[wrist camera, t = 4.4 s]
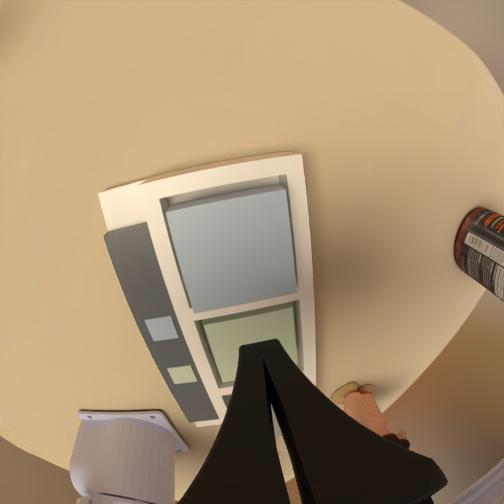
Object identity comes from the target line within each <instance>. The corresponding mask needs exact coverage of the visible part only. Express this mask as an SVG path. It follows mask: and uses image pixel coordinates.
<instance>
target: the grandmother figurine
mask: <svg viewBox="0 0 504 504" xmlns="http://www.w3.org/2000/svg"><path fill="white" fill-rule="evenodd" d="M357 389H358V384H357V383H355V382H352V383H349V384H347V385H345V386H344V387H342V388H341V389H339V390H338V391H336V392H335V393H334V394H333V395H332V397H331V398H332V400H333V401H334V402H336V403H338V404H342V403H345V404H346V405H345V408H344V410H345V412H346V413H347V414H348V415H349V416H351V417H352V418H353V419H355V420H356V421H358V422H359V423H360V424H362V425H364V426H365V427H367V428H369V429H370V430H372V431H373V432H375V433H377V434H379V435H380V436H382V437H384V438H385V439H387V440H389V441H391V442H393V443H395V444H397V445H399V446H401V447H404V448H406V449H408V450H409V446H410V443H409V441H408V440H407V437H406V433H405V431H403V430H401V431H398V432H397V434H394V433H393V432H391V431H390V430H389V428H388V427H387V425H386V421H385V419H384V417H383V416H382V414H381V412H380V410H379V408H378V406H377V404H376V402H375V400H374V398H373V396H372V395H371V394H370V393H371V392H372V385H364V386H363V387H361V388H360V389H359V390H358V391H357ZM356 391H357V392H356Z"/></svg>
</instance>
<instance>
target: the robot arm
mask: <svg viewBox="0 0 504 504" xmlns="http://www.w3.org/2000/svg"><path fill="white" fill-rule="evenodd" d="M271 405H272V408H273V411H274V413H275V416H276V419H277V422H278V425H279V428H280V430H281V433H282V436H283V439H284V441H285V444H286V447H287V450H288V452H289V456H290V459H291V462H292V466H293V470H294V474H295V478H296V482H297V486H298V490H299V494H300V498H301V502H302V504H434V502H433V500H432V498H431V496H432V495H433V494H435V493H436V492H438V491H439V490H440V489H442V488H443V487H444V486H446V484H447V482H448V481H447V479H446V477H445V475H444V473H443V472H442V470H441V469H440V468H439V466H438V465H437V464H436V463H435V462H434V460H433V459H431V458H429V457H426V456H423V455H421V454H418V453H415V452H413V451H411V450H408V449H406V448H404V447H401V446H399V445H397V444H395V443H393V442H391V441H389V440H387V439H385V438H384V437H382V436H380V435H379V434H377V433H375V432H373V431H372V430H370V429H369V428H367V427H365V426H364V425H362V424H360V423H359V422H358V421H356V420H355V419H353V418H352V417H351V416H349V415H348V414H347V413H345V412H344V411H343V410H341V409H340V408H339V407H338V406H336V405H335V404H334V403H333V402H332V401H331V400H330V399H328V398H327V397H326V396H325V395H324V394H323V393H322V392H321V391H320V390H319V389H318V388H317V387H316V386H315V385H314V384H313V383H312V382H311V381H310V380H309V379H308V378H307V377H306V376H305V374H304V373H303V372H302V371H301V370H300V369H299V368H298V366H297V365H296V364H295V363H294V361H293V360H292V359H291V358H290V356H289V355H288V353H287V352H286V351H285V349H284V347H283V346H282V344H281V343H280V341H279V340H278V339H276V338H275V339H271V340H266V341H261V342H256V343H251V344H246V345H241V346H240V347H239V357H238V366H237V372H236V378H235V382H234V386H233V390H232V395H231V398H230V401H229V405H228V408H227V411H226V414H225V417H224V420H223V422H222V425H221V428H220V430H219V433H218V435H217V437H216V440H215V442H214V444H213V446H212V448H211V450H210V452H209V454H208V456H207V458H206V460H205V462H204V464H203V466H202V467H201V469H200V471H199V472H198V474H197V476H196V477H195V479H194V480H193V482H192V483H191V485H190V487H189V488H188V490H187V491H186V493H185V494H184V495H183V497H182V498H181V499H180V501H179V502H178V503H177V504H290V500H289V497H288V493H287V489H286V485H285V481H284V477H283V473H282V469H281V465H280V460H279V456H278V452H277V448H276V440H275V432H274V424H273V416H272V409H271ZM78 416H79V417H80V419H81V423H80V426H79V430H78V434H77V437H76V441H75V445H74V449H73V452H72V457H71V461H70V476H71V480H72V483H73V485H74V487H75V489H76V490H77V491H78V492H79V493H80V494H81V495H82V498H79V499H77V501H76V504H175V453H179V452H188V451H189V448H188V446H187V445H186V444H185V443H184V441H183V440H182V439H181V437H180V436H179V435H178V433H177V432H176V431H175V429H174V428H173V426H172V425H171V424H170V422H169V421H168V419H167V418H166V417H165V415H164V414H163V413H162V412H161V411H142V412H91V411H79V412H78ZM446 504H504V458H503V459H502V460H501V461H500V462H499V463H498V464H497V465H496V466H495V467H494V468H493V469H491V470H490V471H489V472H488V473H487V474H486V475H485V476H483V477H482V478H481V479H479V480H478V481H477V482H476V483H475V484H473V485H472V486H470V487H469V488H468V489H467V490H465V491H464V492H462V493H461V494H459V495H458V496H457V497H455V498H454V499H452V500H451V501H449V502H448V503H446Z"/></svg>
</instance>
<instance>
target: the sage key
mask: <svg viewBox="0 0 504 504" xmlns="http://www.w3.org/2000/svg"><path fill="white" fill-rule="evenodd" d="M203 326H204V329H205V332H206V335H207V338H208V341H209V344H210V347H211V350H212V353H213V356H214V359H215V362H216V364H217V367H218V370H219V373H220V376H221V378H222V381H223V382H229V381H234V380H235V378H236V372H237V366H238V357H239V347H240V346H241V345H246V344H251V343H256V342H261V341H266V340H271V339H275V338H276V339H278V340H279V341H280V343H281V344H282V346H283V347H284V349H285V351H286V352H287V353H288V355H289V356H290V358H291V359H292V360H293V361H294V363H295V364H296V365H297V354H296V341H295V329H294V318H293V307H292V305H291V303H290V302H287V303H282V304H278V305H273V306H268V307H264V308H259V309H254V310H249V311H244V312H239V313H234V314H229V315H224V316H218V317H213V318H207V319H203Z"/></svg>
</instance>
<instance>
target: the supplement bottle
mask: <svg viewBox="0 0 504 504" xmlns="http://www.w3.org/2000/svg"><path fill="white" fill-rule="evenodd" d="M455 257H456V262H457V265H458V267H459V268H460V269H461V270H462V271H464V272H465V273H466V274H467V275H469V276H470V277H472V278H473V279H474V280H476V281H477V282H478V283H480V284H481V285H482V286H484V287H485V288H487V289H488V290H489V291H491V292H492V293H493V294H495V295H496V296H497V297H498V298H500V299H501V300H502V301H504V216H503V215H500V214H498V213H496V212H493V211H491V210H488V209H485V208H478V209H476V210H474V211H472V212H471V213H470V214H469V215H468V216H467V217H466V219H465V220H464V222H463V224H462V226H461V228H460V231H459V233H458V236H457V240H456V244H455Z"/></svg>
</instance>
